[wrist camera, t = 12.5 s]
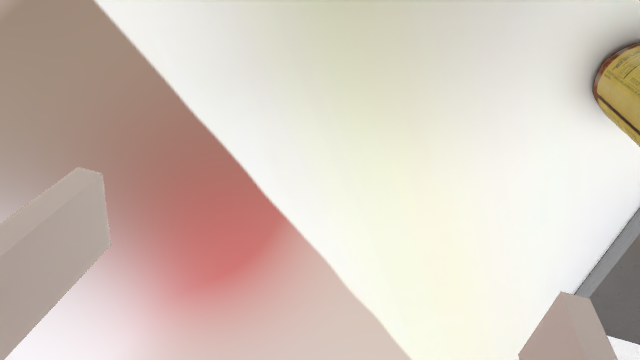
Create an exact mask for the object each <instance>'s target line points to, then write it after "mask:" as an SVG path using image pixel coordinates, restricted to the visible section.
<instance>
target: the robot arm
mask: <svg viewBox="0 0 640 360" xmlns="http://www.w3.org/2000/svg"><path fill="white" fill-rule="evenodd" d="M110 246H111V240H110V232H109V223H108V215H107V206H106V198H105V190H104V181H103V174H102V173H99V172H95V171H92V170H87V169H83V168H80V167H77V168H76V169H74V170H73V171H72V172H70V173H69V174H68V175H66V176H65V177H64V178H62V179H61V180H60V181H58V182H57V183H55V184H54V185H53V186H51V187H50V188H49V189H47V190H46V191H45V192H43V193H42V194H40V195H39V196H38V197H37V198H35V199H34V200H32V201H31V202H30V203H28V204H27V205H25V206H24V207H23V208H21V209H20V210H19V211H17V212H16V213H15V214H13V215H12V216H10V217H9V218H8V219H6V220H5V221H4V222H3V223H1V224H0V360H4V359H5V358H6V357H7V356H8V355H9V354H10V353H11V352H12V350H13V349H14V348H15V347H16V346H17V345H18V344H19V343H20V342H21V341H22V340H23V339H24V338H25V337H26V335H27V334H28V333H29V332H30V331H31V330H32V329H33V328H34V327H35V326H36V325H37V324H38V323H39V322H40V321H41V319H42V318H43V317H44V316H45V315H46V314H47V313H48V312H49V311H50V310H51V309H52V308H53V307H54V306H55V304H56V303H57V302H58V301H59V300H60V299H61V298H62V297H63V296H64V295H65V294H66V293H67V291H69V289H70V288H71V287H72V286H73V285H74V284H75V283H76V282H77V281H78V280H79V279H80V278H81V277H82V276H83V274H84V273H85V272H86V271H87V270H88V269H89V268H90V267H91V266H92V265H93V264H94V263H95V262H96V261H97V259H98V258H99V257H100V256H101V255H102V254H103V253H104V252H105V251H106V250H107V249H108V248H109V247H110ZM518 356H519V360H618V359H617V357H616V355H615V353H614V350H613V348H612V346H611V344H610V342H609V340H608V337H607V335H606V333H605V331H604V329H603V326H602V324H601V322H600V320H599V318H598V316H597V313H596V311H595V309H594V307H593V305H592V302H591V300H590V299H588V298H584V297H580V296H577V295H573V294H569V293H565V292H560V294H559V295H558V297H557V298H556V300H555V301H554V302H553V304H552V305H551V307H550V308H549V310H548V311H547V313H546V314H545V316H544V317H543V319H542V320H541V322H540V323H539V325H538V326H537V328H536V329H535V331H534V332H533V334H532V335H531V337H530V338H529V339H528V341H527V342H526V344H525V345H524V347H523V348H522V350H521V351H520V353H519V354H518Z"/></svg>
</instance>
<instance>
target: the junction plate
mask: <svg viewBox="0 0 640 360" xmlns="http://www.w3.org/2000/svg"><path fill="white" fill-rule="evenodd" d="M574 295H577V296H580V297H584V298H588V299H590V300H591V302H592V305H593V307H594V309H595V311H596V313H597V316H598V318H599V320H600V322H601V324H602V326H603V329H604V331H605V333H606V335H608V336H611V337H615V338H618V339H622V340H625V341H629V342H632V343H636V344H639V345H640V208H639V210H638V211H637V212H636V214H635V215H634V216H633V217H632V219H631V220H630V221H629V223H628V224H627V225H626V227H625V228H624V229H623V231H622V232H621V233H620V235H619V236H618V237H617V239H616V240H615V241H614V243H613V244H612V245H611V247H610V248H609V249H608V251H607V252H606V253H605V255H604V256H603V257H602V258H601V260H600V261H599V262H598V264H597V265H596V266H595V268H594V269H593V270H592V272H591V273H590V274H589V276H588V277H587V278H586V280H585V281H584V282H583V284H582V285H581V286H580V288H579V289H578V290H577V292H576V293H575V294H574Z"/></svg>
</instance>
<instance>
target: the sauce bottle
mask: <svg viewBox="0 0 640 360" xmlns="http://www.w3.org/2000/svg"><path fill="white" fill-rule="evenodd" d="M593 94H594V97H595V100H596V101H597V102H598V104H599V105H600V108H601V109H602V111H603V112H604V113H605V114H606V116H607V117H608V118H610V119H611V120H612V121H613V122H614V123H615V124H616V125H617V126H618V127H619V128H620V129H621V130H622V131H624V132H625V133H626V134H627V135H628V136H629V137H630V138H631V139H632V140H633V141H634V142H635V143H636V144H638V145H639V146H640V43H636V44H633V45H631V46H629V47H626V48H624V49H622V50H620V51H618V52H617V53H615V54H613V55H612V56H611V57H610V58H608V59H607V60H606V61H605V62H604V63H603V64H602V65H601V67H600V69H599V71H598V73H597V76H596V79H595V82H594V90H593Z"/></svg>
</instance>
